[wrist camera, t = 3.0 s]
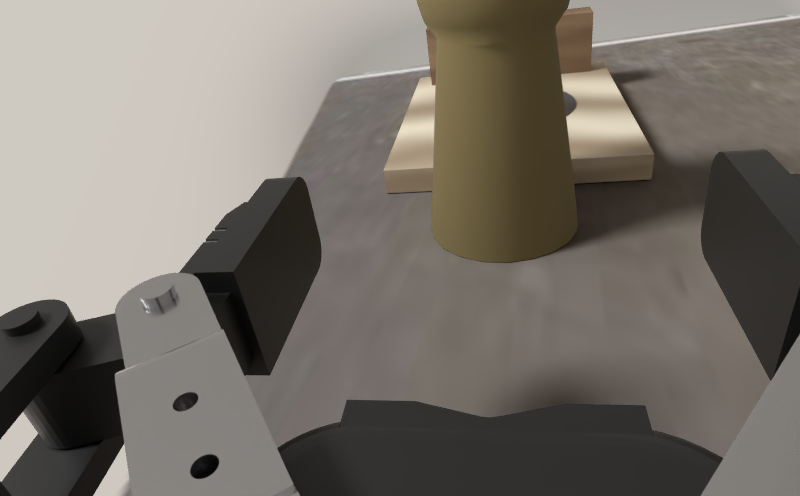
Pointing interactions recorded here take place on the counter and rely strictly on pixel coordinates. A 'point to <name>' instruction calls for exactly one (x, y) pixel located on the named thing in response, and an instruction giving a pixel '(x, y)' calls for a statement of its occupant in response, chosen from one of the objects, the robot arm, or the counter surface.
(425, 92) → the wooden stand base
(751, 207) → the robot arm
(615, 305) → the counter surface
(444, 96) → the cork
